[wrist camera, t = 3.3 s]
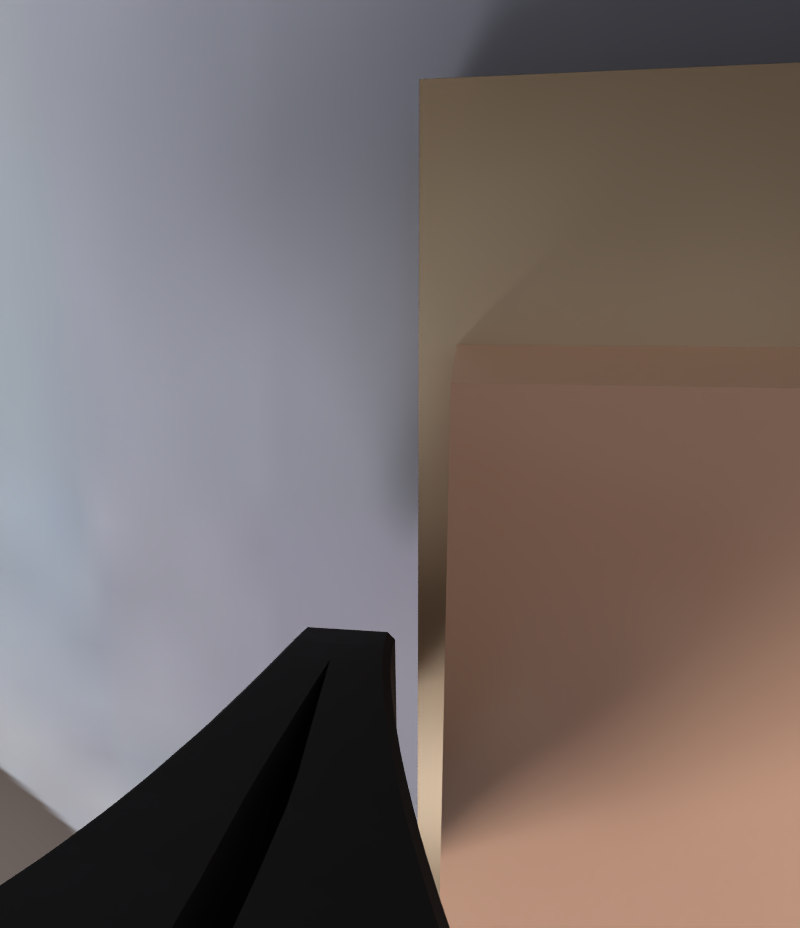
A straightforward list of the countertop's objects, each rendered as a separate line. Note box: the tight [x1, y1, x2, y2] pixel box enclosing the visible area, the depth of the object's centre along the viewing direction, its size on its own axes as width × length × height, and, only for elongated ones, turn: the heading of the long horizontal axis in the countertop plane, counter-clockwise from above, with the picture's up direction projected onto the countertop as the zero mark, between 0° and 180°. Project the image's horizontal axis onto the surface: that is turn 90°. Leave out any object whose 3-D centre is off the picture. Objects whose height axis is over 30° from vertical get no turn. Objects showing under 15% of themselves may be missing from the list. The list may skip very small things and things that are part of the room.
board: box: [418, 62, 800, 897], centre depth 10 cm, size 16×12×2 cm
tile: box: [440, 345, 800, 928], centre depth 8 cm, size 10×7×2 cm
